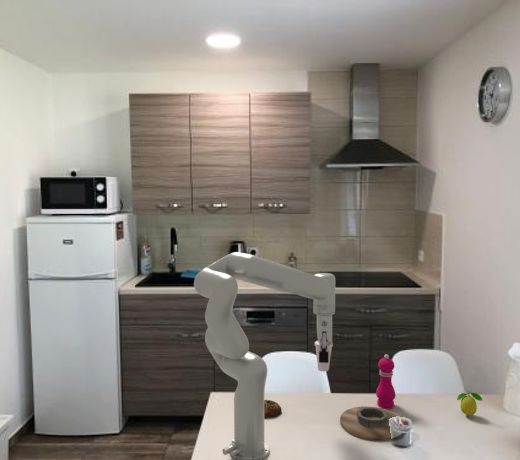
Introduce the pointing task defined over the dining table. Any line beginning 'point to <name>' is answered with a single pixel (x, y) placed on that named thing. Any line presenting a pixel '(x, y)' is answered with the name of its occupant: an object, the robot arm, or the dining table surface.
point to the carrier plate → (367, 422)
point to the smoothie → (320, 365)
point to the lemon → (469, 403)
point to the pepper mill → (385, 384)
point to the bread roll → (271, 408)
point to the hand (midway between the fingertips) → (323, 358)
